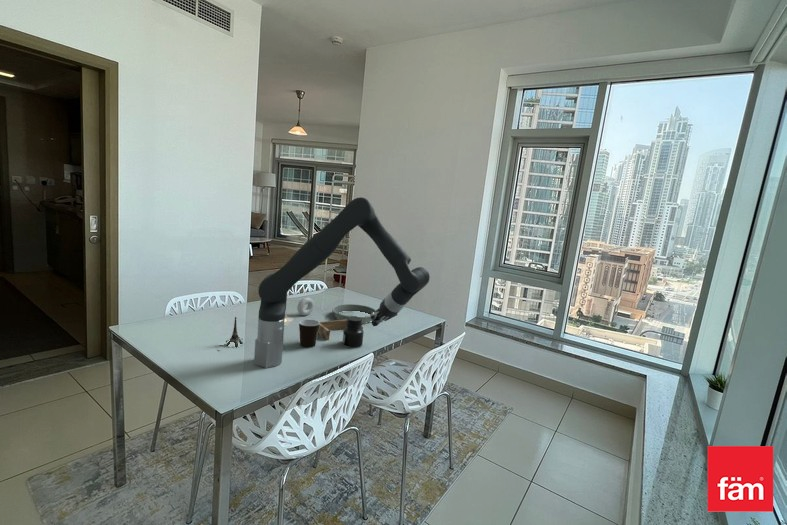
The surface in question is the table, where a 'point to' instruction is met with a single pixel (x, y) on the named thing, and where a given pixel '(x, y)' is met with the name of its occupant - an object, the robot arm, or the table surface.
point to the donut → (309, 308)
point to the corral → (331, 327)
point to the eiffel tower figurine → (235, 336)
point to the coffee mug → (308, 332)
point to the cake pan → (353, 308)
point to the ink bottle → (353, 332)
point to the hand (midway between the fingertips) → (373, 324)
